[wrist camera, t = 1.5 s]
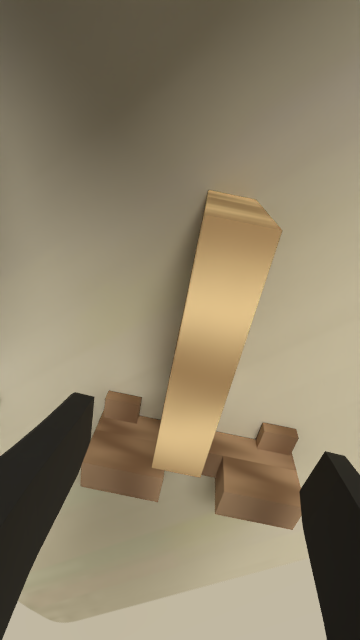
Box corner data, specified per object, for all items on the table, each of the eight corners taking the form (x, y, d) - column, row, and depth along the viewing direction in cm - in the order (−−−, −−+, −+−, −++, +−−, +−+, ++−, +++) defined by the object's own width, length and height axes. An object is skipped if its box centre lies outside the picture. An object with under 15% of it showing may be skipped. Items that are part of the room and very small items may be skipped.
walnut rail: (101, 446, 25) (79, 502, 21) (106, 390, 23) (82, 442, 19) (272, 481, 25) (283, 544, 21) (298, 429, 23) (317, 490, 19)
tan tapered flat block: (204, 384, 21) (200, 477, 15) (169, 376, 21) (151, 467, 15) (256, 199, 16) (282, 230, 10) (208, 190, 16) (204, 214, 10)
